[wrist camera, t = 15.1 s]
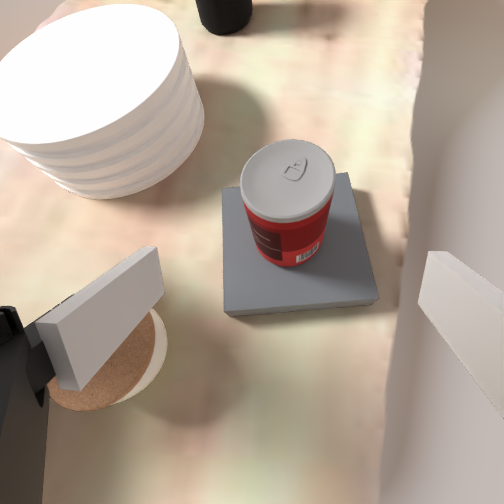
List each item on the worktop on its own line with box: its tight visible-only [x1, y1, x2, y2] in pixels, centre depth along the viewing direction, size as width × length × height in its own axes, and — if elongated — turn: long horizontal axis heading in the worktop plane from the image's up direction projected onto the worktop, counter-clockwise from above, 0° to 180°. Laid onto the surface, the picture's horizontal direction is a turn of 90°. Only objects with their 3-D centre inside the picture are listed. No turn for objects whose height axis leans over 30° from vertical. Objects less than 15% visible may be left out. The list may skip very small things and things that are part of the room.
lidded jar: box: [47, 308, 168, 411], centre depth 28 cm, size 11×11×9 cm
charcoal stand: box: [222, 172, 379, 317], centre depth 33 cm, size 16×16×3 cm
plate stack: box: [0, 4, 205, 199], centre depth 43 cm, size 28×28×12 cm
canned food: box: [240, 139, 336, 267], centre depth 27 cm, size 8×8×11 cm
